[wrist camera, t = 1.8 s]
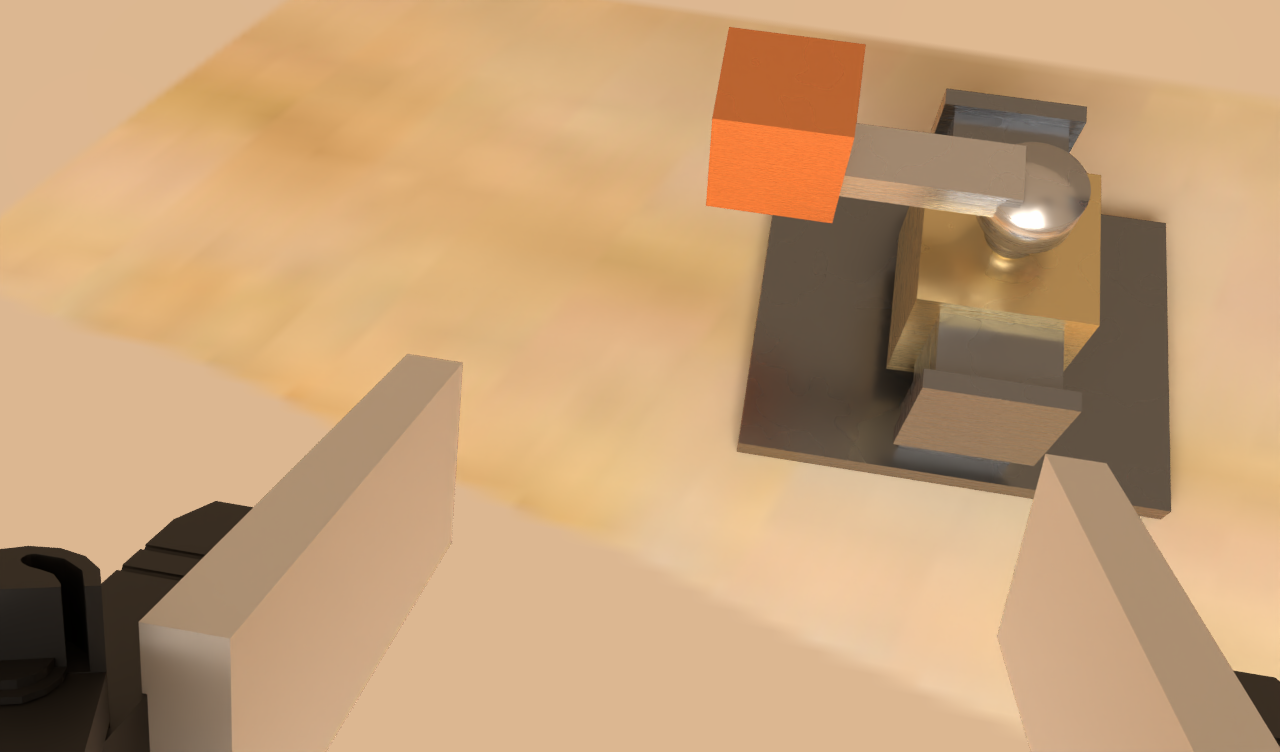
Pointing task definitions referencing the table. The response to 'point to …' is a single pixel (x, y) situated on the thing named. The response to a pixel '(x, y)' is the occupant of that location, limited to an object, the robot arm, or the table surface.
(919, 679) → the table surface
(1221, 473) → the table surface
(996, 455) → the valve body
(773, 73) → the valve lever
